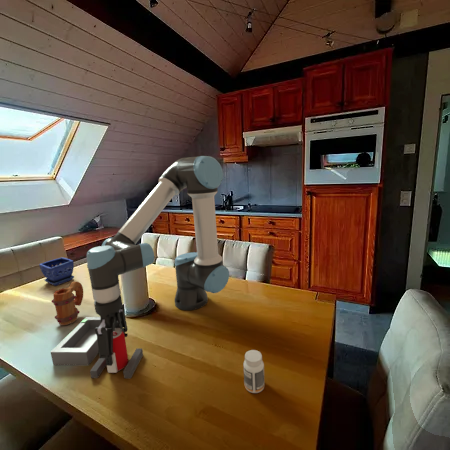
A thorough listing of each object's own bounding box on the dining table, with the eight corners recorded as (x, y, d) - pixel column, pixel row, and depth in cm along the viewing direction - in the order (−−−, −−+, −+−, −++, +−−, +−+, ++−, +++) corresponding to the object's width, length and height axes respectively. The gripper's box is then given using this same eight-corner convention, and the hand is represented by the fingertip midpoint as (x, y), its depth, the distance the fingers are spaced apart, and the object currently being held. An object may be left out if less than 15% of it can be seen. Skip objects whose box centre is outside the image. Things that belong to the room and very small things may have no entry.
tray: (117, 328, 104) (115, 316, 103) (88, 365, 85) (85, 351, 83) (88, 328, 105) (86, 316, 104) (53, 365, 85) (50, 351, 84)
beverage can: (122, 356, 88) (117, 324, 85) (132, 364, 84) (127, 331, 82) (104, 367, 83) (98, 334, 81) (114, 376, 80) (108, 342, 77)
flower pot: (77, 279, 154) (74, 260, 151) (53, 288, 143) (49, 267, 140) (65, 275, 161) (62, 256, 158) (42, 283, 150) (37, 264, 147)
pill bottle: (262, 377, 77) (262, 347, 75) (266, 393, 71) (265, 362, 69) (243, 378, 77) (242, 348, 74) (245, 395, 71) (244, 363, 69)
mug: (68, 329, 105) (61, 295, 101) (51, 327, 106) (43, 293, 103) (93, 309, 119) (87, 279, 115) (77, 308, 120) (71, 278, 117)
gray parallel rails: (143, 354, 88) (142, 348, 88) (130, 378, 78) (129, 371, 78) (107, 354, 89) (106, 348, 89) (91, 378, 79) (89, 370, 79)
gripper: (111, 283, 88) (120, 343, 93) (75, 315, 69) (89, 388, 75) (132, 283, 88) (140, 343, 93) (103, 315, 69) (115, 388, 74)
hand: (118, 363), depth 84 cm, fingers closed on beverage can, 6 cm apart
